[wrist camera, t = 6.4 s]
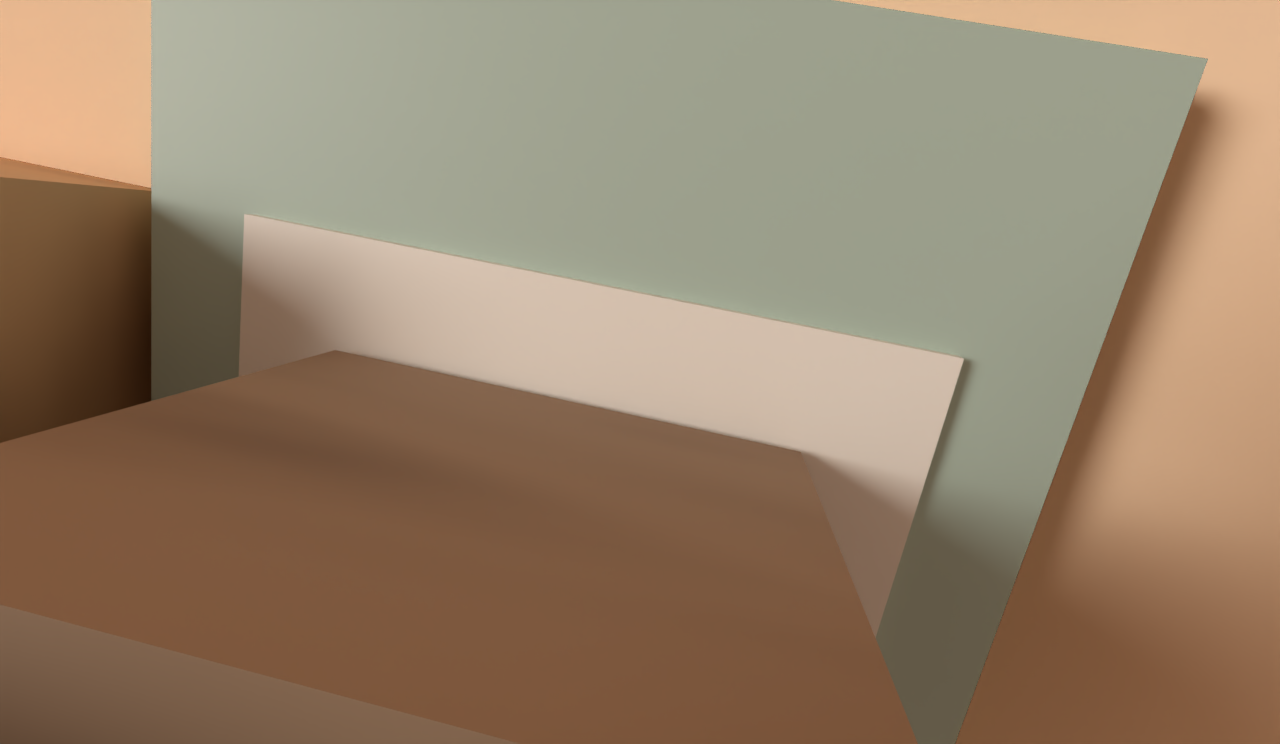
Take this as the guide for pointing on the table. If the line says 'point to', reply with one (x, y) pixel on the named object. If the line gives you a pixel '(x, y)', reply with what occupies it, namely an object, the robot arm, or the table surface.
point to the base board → (687, 241)
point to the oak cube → (71, 297)
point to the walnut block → (421, 574)
